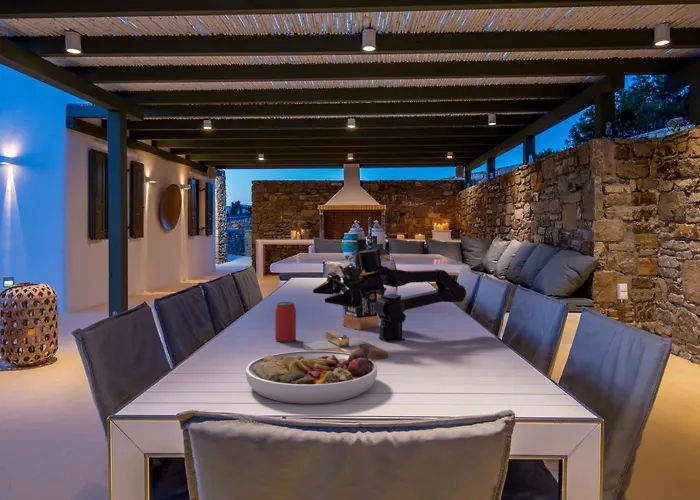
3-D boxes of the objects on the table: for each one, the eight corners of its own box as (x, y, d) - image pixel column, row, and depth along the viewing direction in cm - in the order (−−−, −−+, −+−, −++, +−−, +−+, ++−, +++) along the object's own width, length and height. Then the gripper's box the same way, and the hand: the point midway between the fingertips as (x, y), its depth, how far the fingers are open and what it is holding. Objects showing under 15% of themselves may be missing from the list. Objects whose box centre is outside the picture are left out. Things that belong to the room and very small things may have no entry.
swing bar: (350, 346, 155) (350, 336, 155) (340, 347, 154) (340, 337, 154) (334, 337, 166) (334, 328, 166) (325, 338, 165) (325, 329, 165)
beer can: (292, 343, 168) (292, 305, 167) (272, 342, 169) (272, 304, 169) (298, 338, 174) (298, 302, 174) (279, 337, 176) (279, 301, 175)
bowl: (265, 417, 104) (264, 377, 103) (234, 377, 131) (233, 345, 131) (400, 398, 116) (400, 362, 115) (346, 364, 143) (346, 335, 143)
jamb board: (357, 342, 169) (357, 337, 169) (373, 350, 158) (373, 345, 158) (303, 347, 162) (302, 341, 162) (316, 356, 151) (316, 350, 151)
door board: (371, 349, 159) (371, 338, 159) (388, 357, 149) (388, 345, 149) (314, 355, 152) (314, 343, 152) (327, 364, 142) (327, 351, 142)
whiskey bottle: (380, 327, 194) (380, 239, 192) (358, 330, 188) (358, 239, 187) (363, 322, 202) (363, 238, 201) (341, 325, 197) (342, 238, 195)
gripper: (349, 253, 174) (304, 263, 168) (376, 267, 158) (328, 279, 152) (352, 284, 177) (308, 295, 171) (379, 302, 161) (332, 315, 155)
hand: (318, 295), depth 162 cm, fingers open, 9 cm apart
